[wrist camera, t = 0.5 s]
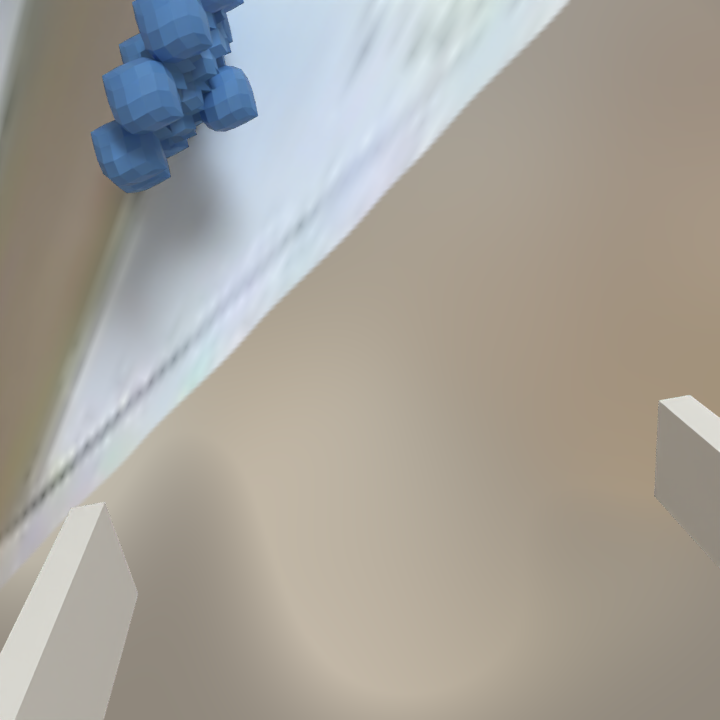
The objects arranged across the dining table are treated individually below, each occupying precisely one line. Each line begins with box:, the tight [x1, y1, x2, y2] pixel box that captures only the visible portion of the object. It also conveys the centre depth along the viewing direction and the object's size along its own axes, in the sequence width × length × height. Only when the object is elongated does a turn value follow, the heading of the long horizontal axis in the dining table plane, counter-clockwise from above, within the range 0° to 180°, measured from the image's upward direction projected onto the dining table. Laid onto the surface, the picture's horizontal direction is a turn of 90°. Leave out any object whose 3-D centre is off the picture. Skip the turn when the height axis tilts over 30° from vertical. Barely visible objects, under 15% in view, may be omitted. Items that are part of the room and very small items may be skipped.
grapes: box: [91, 0, 258, 193], centre depth 31 cm, size 12×7×12 cm, turn 153°
